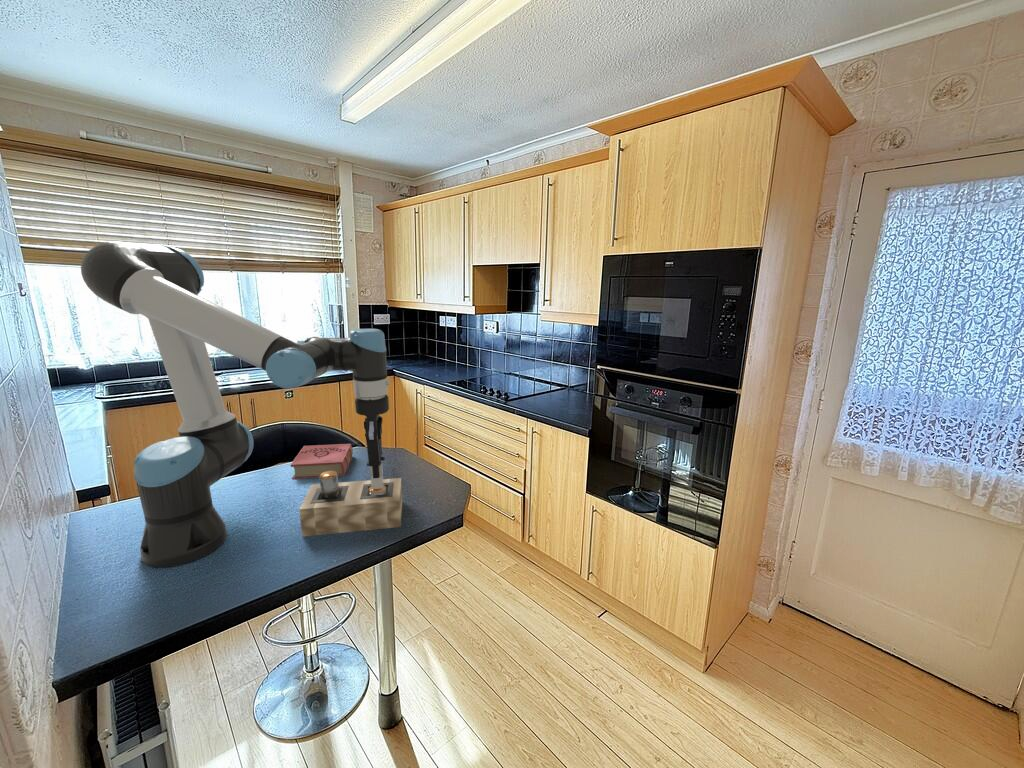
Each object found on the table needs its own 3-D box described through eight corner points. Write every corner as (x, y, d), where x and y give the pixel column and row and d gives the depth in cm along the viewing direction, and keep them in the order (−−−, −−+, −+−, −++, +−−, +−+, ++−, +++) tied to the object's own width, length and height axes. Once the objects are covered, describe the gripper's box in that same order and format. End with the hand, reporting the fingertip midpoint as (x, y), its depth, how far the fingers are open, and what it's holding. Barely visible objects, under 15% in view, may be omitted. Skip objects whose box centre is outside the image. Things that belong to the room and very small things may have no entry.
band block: (302, 536, 99) (299, 508, 97) (314, 509, 111) (311, 484, 109) (400, 526, 104) (399, 500, 102) (402, 501, 115) (401, 477, 113)
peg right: (369, 517, 106) (368, 492, 104) (371, 509, 110) (369, 485, 108) (386, 516, 107) (385, 491, 105) (387, 507, 110) (386, 483, 109)
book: (346, 476, 129) (345, 461, 128) (292, 480, 127) (290, 464, 125) (354, 457, 143) (353, 443, 142) (305, 460, 140) (304, 446, 139)
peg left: (320, 504, 102) (317, 478, 101) (323, 496, 106) (321, 471, 104) (338, 503, 103) (335, 477, 102) (340, 495, 107) (338, 470, 105)
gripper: (386, 402, 95) (391, 499, 101) (389, 388, 108) (394, 474, 113) (350, 404, 94) (358, 502, 99) (358, 389, 106) (364, 476, 112)
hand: (377, 487), depth 106 cm, fingers closed
